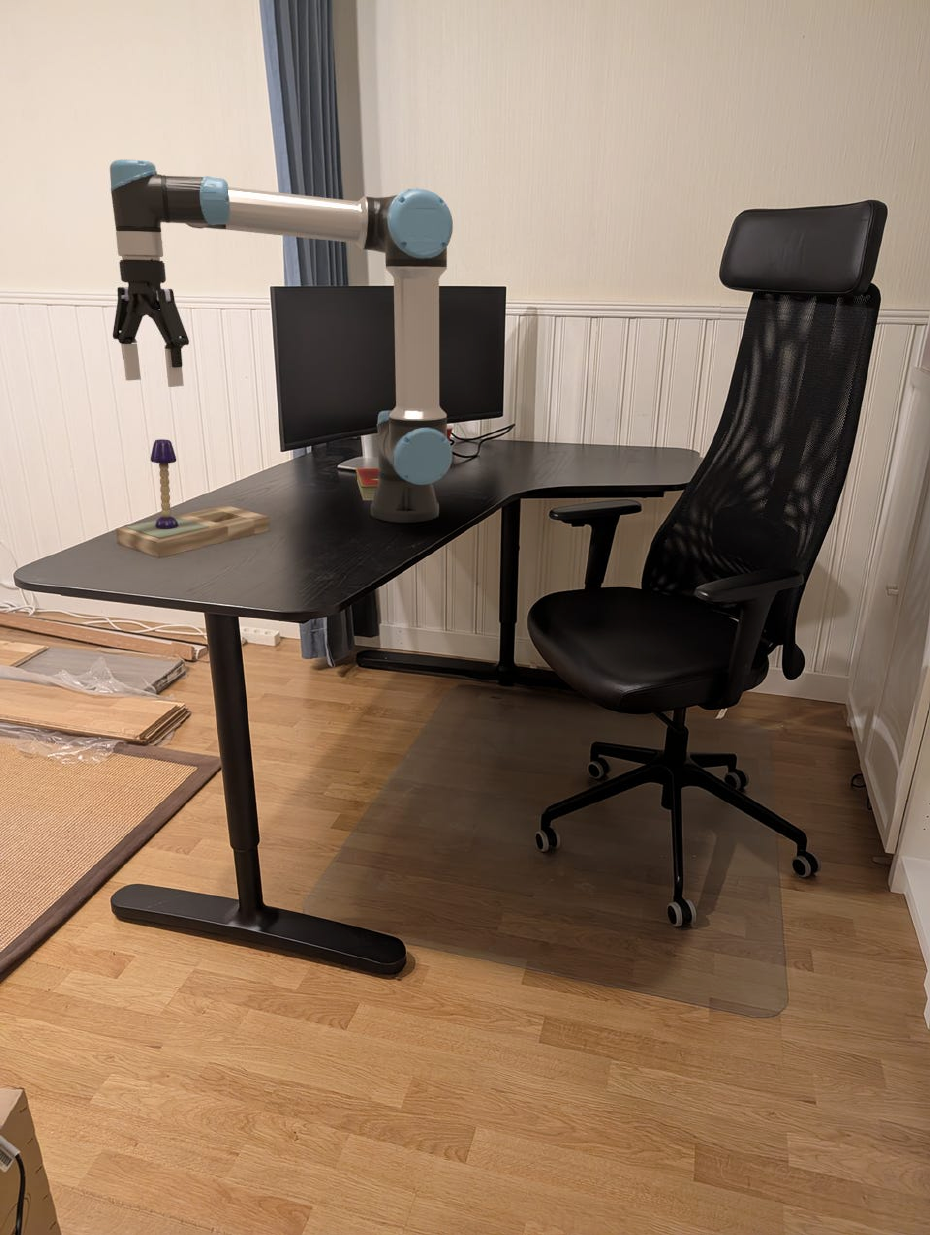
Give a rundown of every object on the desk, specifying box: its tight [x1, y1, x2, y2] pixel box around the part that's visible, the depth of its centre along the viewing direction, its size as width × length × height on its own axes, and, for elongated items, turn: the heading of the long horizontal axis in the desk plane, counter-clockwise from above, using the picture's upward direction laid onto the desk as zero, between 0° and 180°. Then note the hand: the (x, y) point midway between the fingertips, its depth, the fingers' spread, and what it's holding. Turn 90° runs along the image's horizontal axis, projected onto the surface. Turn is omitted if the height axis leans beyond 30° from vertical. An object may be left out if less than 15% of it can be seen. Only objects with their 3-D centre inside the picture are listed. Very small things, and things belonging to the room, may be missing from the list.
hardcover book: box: [354, 467, 378, 501], centre depth 222 cm, size 12×21×4 cm, turn 10°
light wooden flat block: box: [115, 505, 270, 559], centre depth 180 cm, size 14×26×3 cm, turn 141°
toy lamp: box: [150, 438, 178, 529], centre depth 172 cm, size 5×5×17 cm
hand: (154, 383), depth 165 cm, fingers open, 13 cm apart
